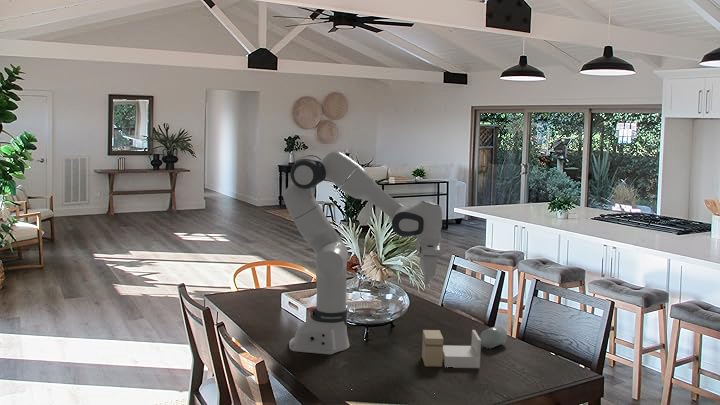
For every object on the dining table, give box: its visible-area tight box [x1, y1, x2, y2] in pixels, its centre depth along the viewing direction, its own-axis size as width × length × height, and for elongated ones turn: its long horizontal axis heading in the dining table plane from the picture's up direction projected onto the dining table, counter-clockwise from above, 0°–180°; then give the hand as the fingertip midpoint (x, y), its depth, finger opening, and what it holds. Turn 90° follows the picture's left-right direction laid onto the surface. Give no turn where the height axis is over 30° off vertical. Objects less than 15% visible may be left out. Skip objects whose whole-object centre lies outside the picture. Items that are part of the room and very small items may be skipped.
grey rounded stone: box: [479, 325, 508, 350], centre depth 249 cm, size 7×7×8 cm
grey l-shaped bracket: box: [442, 329, 482, 369], centre depth 231 cm, size 12×11×10 cm
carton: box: [421, 329, 444, 367], centre depth 231 cm, size 10×9×6 cm
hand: (426, 283), depth 238 cm, fingers closed
